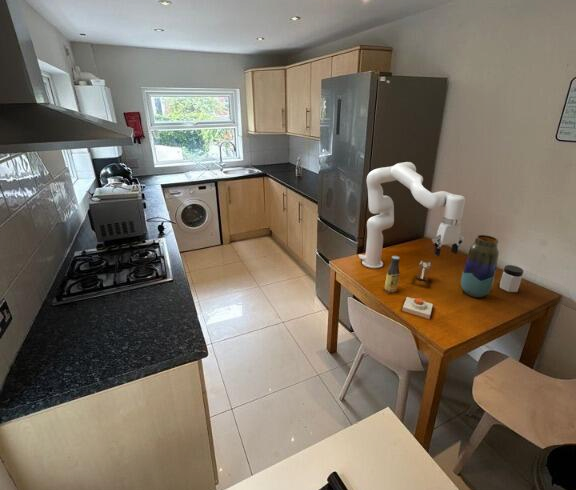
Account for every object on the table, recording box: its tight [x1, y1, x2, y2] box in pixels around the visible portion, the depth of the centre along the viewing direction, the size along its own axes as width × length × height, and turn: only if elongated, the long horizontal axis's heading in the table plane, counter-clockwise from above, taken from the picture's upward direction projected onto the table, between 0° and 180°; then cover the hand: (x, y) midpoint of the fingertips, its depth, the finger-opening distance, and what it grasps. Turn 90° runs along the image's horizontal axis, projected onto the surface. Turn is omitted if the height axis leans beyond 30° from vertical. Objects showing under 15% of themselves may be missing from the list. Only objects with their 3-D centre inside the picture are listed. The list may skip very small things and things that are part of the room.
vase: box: [460, 234, 500, 298], centre depth 153 cm, size 14×14×31 cm
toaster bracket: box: [416, 260, 432, 284], centre depth 166 cm, size 10×8×12 cm
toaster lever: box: [415, 261, 429, 283], centre depth 163 cm, size 11×5×2 cm, turn 149°
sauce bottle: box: [384, 255, 401, 295], centre depth 156 cm, size 7×6×20 cm
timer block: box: [402, 296, 434, 320], centre depth 144 cm, size 12×10×4 cm
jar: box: [499, 264, 524, 293], centre depth 160 cm, size 9×8×12 cm
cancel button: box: [415, 297, 424, 305], centre depth 143 cm, size 4×4×2 cm
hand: (445, 253), depth 148 cm, fingers open, 9 cm apart
